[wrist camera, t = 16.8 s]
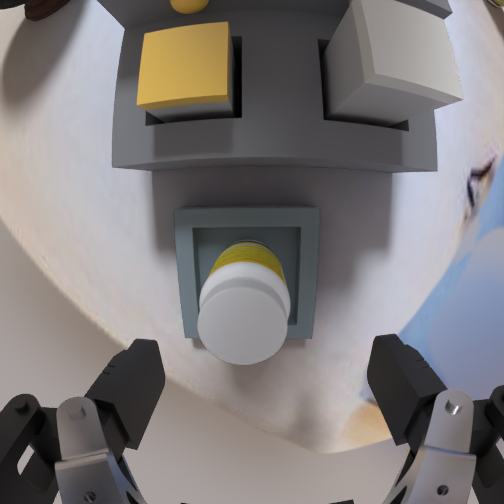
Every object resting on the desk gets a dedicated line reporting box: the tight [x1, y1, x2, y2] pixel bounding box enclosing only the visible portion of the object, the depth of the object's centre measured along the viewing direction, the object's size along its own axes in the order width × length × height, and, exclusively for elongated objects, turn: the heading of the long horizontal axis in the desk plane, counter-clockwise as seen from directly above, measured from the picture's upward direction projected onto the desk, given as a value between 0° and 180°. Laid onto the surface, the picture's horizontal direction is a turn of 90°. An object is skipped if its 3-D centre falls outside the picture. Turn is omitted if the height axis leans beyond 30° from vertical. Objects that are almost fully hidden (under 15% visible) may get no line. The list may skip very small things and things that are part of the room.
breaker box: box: [97, 0, 452, 173], centre depth 12 cm, size 18×10×10 cm, turn 91°
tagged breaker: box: [137, 22, 239, 123], centre depth 13 cm, size 4×4×8 cm
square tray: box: [174, 206, 320, 340], centre depth 19 cm, size 9×9×2 cm
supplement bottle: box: [197, 240, 290, 365], centre depth 16 cm, size 5×5×8 cm
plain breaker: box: [320, 0, 464, 128], centre depth 10 cm, size 4×4×8 cm
